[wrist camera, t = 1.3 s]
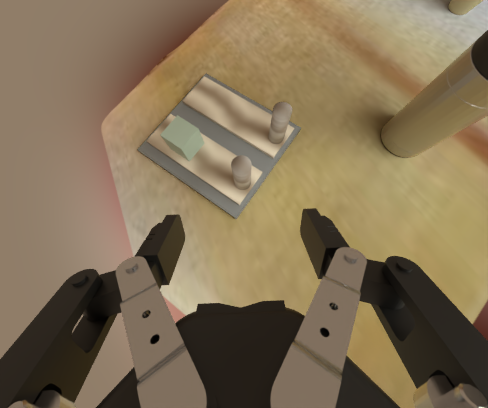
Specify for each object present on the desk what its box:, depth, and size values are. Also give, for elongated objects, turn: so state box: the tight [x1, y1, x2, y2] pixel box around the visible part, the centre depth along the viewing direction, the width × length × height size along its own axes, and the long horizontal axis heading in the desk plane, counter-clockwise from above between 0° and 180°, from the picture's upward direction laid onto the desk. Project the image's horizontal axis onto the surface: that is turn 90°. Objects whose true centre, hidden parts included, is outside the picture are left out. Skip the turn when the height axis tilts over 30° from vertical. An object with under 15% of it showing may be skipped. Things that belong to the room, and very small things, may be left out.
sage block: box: [160, 115, 204, 161], centre depth 37 cm, size 5×5×5 cm
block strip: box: [147, 114, 263, 205], centre depth 36 cm, size 8×24×9 cm, turn 55°
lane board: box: [137, 74, 301, 219], centre depth 42 cm, size 24×26×1 cm
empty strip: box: [183, 76, 294, 158], centre depth 38 cm, size 8×24×9 cm, turn 55°
